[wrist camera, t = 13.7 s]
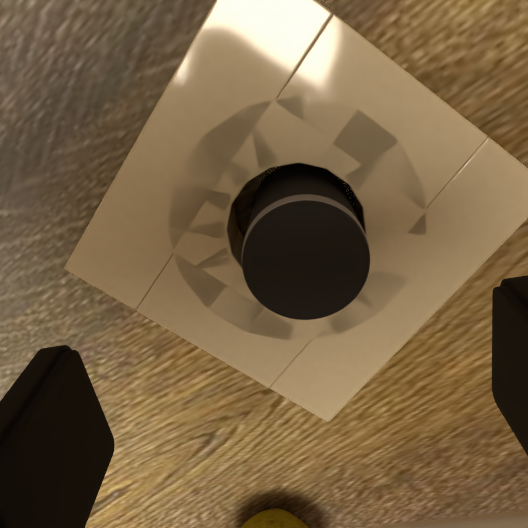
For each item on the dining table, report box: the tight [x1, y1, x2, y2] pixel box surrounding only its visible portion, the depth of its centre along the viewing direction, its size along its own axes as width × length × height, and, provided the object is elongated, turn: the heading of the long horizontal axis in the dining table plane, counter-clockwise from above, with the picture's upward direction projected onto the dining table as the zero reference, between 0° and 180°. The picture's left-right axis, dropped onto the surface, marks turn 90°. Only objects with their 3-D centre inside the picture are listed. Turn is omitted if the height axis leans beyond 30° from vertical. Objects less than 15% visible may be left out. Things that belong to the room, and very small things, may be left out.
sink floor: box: [64, 0, 528, 422], centre depth 21 cm, size 14×14×3 cm
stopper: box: [242, 163, 370, 320], centre depth 20 cm, size 4×4×6 cm
